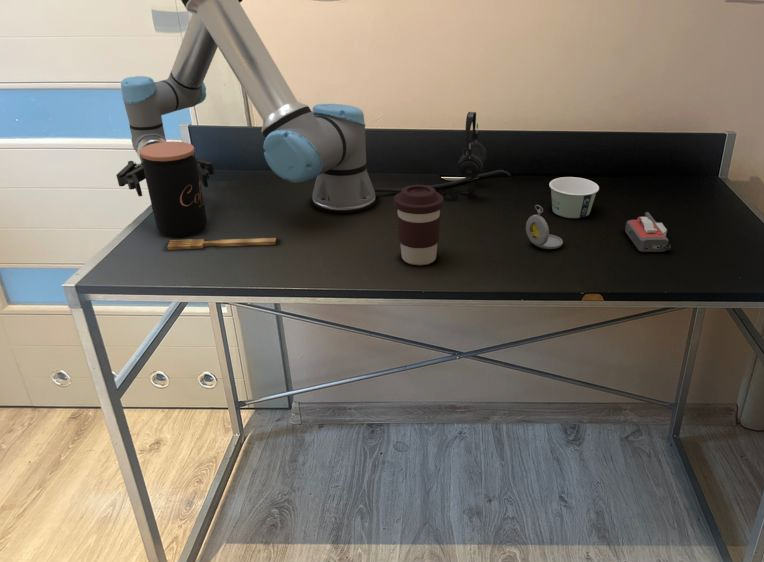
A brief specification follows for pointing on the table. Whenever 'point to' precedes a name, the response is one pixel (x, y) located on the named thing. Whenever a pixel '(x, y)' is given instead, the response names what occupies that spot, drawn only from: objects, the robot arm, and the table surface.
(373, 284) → the table surface
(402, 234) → the coffee cup
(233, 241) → the tan flat long part
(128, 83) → the robot arm
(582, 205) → the food container
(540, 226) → the pocket watch
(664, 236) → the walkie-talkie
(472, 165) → the headphones
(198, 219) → the coffee jar
